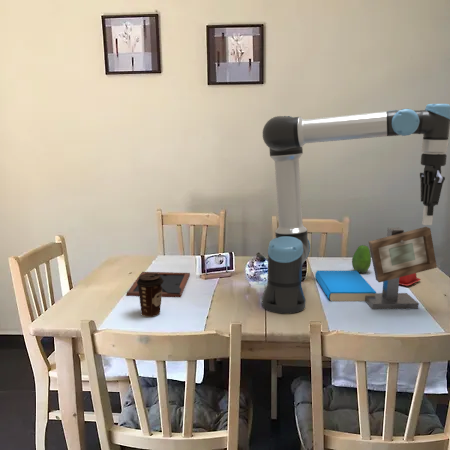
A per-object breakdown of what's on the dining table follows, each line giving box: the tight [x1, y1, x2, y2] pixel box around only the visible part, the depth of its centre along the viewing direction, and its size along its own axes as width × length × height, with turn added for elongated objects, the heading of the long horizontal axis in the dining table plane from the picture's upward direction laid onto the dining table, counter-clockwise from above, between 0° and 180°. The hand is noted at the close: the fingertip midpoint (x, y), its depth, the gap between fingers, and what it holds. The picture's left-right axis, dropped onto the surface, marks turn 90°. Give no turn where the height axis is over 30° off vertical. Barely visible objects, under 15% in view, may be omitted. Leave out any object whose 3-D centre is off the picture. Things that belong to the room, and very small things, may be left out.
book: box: [314, 270, 377, 302], centre depth 182 cm, size 17×4×25 cm
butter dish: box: [399, 273, 421, 287], centre depth 191 cm, size 12×12×8 cm
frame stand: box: [364, 227, 420, 310], centre depth 165 cm, size 16×10×27 cm, turn 92°
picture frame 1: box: [126, 271, 191, 298], centre depth 185 cm, size 20×2×25 cm
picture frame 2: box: [368, 226, 438, 283], centre depth 160 cm, size 20×4×14 cm, turn 92°
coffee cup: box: [137, 273, 163, 318], centre depth 157 cm, size 9×8×13 cm
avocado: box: [351, 244, 372, 274], centre depth 202 cm, size 8×8×12 cm
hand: (427, 224), depth 158 cm, fingers closed
